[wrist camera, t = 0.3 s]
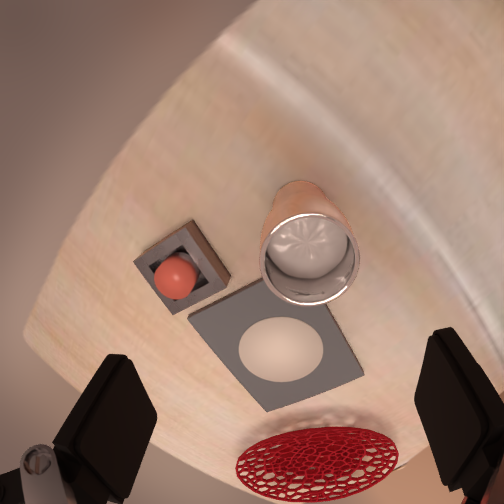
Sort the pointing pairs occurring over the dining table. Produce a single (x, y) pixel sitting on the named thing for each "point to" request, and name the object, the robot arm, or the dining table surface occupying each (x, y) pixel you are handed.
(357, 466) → the bowl
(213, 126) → the dining table surface
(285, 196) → the beer glass
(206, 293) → the button housing
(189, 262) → the button
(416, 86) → the dining table surface
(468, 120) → the dining table surface
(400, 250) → the dining table surface
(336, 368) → the grey rectangular board
